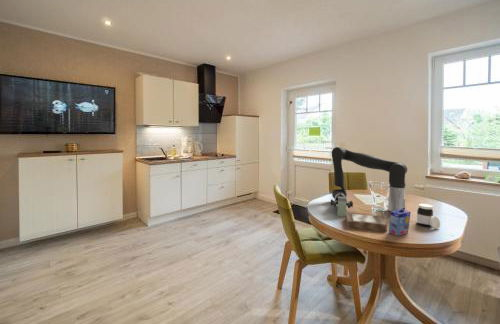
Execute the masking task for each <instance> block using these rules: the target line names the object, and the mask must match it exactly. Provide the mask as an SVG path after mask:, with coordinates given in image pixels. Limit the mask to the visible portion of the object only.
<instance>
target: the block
mask: <svg viewBox="0 0 500 324" xmlns="http://www.w3.org/2000/svg"><path fill="white" fill-rule="evenodd" d="M347 199H348V198H347V196H346V197H339V196H338V206H337V212H336V213H337V217H345V216H346V213H347V207H346V202H347V201H348V200H347Z"/></svg>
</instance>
